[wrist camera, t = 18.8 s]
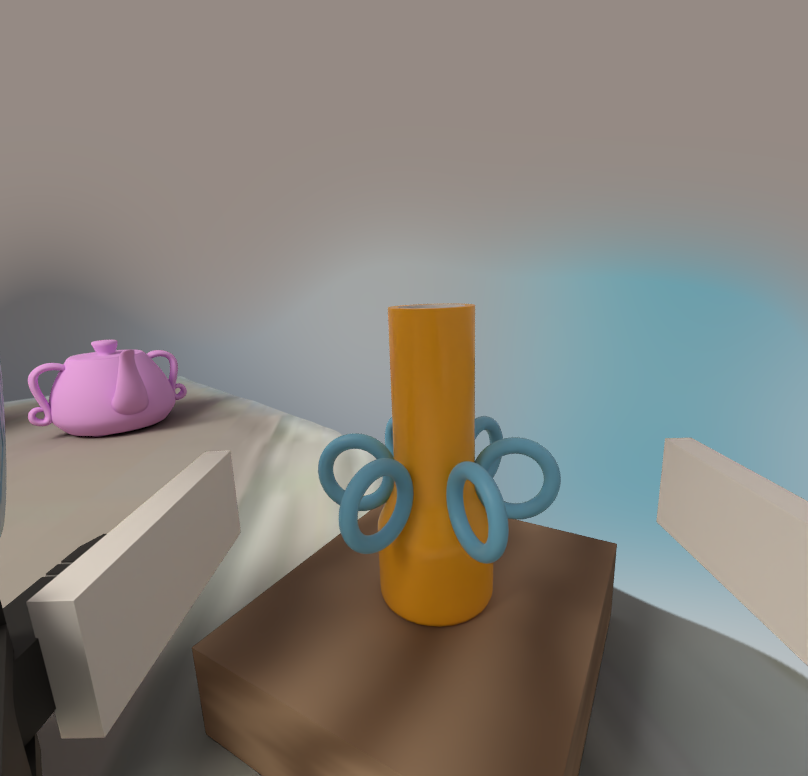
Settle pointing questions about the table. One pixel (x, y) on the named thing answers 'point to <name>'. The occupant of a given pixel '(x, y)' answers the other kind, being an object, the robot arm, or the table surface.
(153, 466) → the table surface
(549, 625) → the walnut block
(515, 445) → the orange blue tall piece
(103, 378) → the teapot
